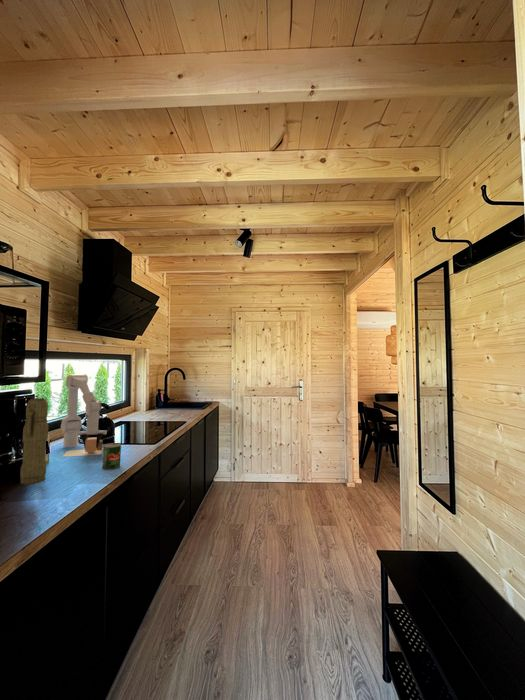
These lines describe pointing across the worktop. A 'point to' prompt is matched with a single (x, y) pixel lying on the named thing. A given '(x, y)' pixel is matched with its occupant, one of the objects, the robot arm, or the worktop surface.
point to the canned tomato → (111, 456)
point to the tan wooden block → (90, 444)
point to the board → (80, 453)
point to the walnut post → (100, 445)
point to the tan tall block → (34, 442)
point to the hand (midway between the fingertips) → (91, 447)
